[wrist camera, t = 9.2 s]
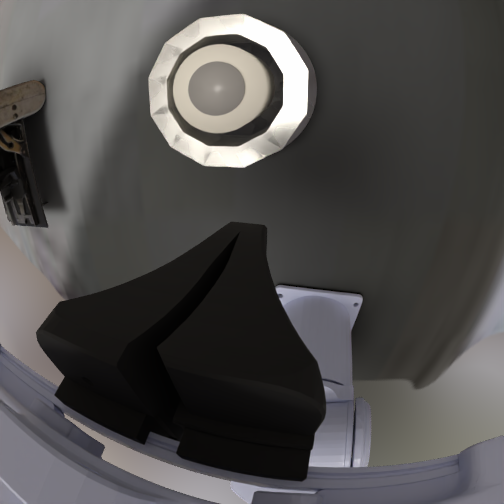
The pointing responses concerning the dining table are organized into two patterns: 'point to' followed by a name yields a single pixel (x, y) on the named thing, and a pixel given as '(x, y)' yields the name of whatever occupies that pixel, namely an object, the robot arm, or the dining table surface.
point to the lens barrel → (261, 128)
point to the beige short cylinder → (222, 88)
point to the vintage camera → (19, 155)
